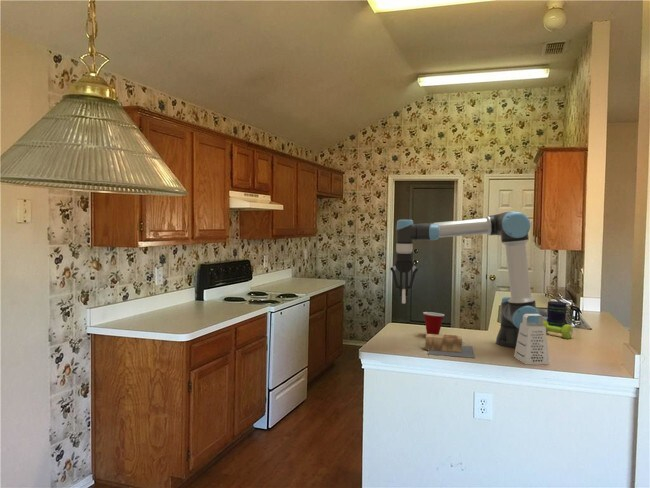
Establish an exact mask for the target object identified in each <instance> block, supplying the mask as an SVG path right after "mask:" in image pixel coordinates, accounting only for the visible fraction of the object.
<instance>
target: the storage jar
mask: <svg viewBox="0 0 650 488" xmlns="http://www.w3.org/2000/svg"><path fill="white" fill-rule="evenodd" d="M567 305H568V304H567V302H564V301H555V300H554V301H553V300H551V301H547V306H546V307H547V310H546V311H547V318H546V321H547V322H548V325H549V326H555V327H560V328H562V327H563V326H564V325H566V324H567V320H566V315H567Z"/></svg>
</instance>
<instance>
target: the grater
mask: <svg viewBox="0 0 650 488" xmlns="http://www.w3.org/2000/svg"><path fill="white" fill-rule="evenodd" d="M539 314H540V313H539ZM539 314H524V315H523V323H520V328H519V333H518V338H517V344H516V348H514V349H515V350H514V355H513V358H514V357H515V358H514V359H517V360H518V361H519V360H520V362H521V363H523V364H524V363H525V364H524V365H550V359H549V358H550V357H549V356H550V355H549V348H548V347H549V346H548V337H547V333H546V326H543V320H544V317H543V315H542V314H540V315H539ZM528 316H539V324H538V323H527V317H528Z"/></svg>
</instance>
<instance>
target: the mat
mask: <svg viewBox="0 0 650 488" xmlns="http://www.w3.org/2000/svg"><path fill="white" fill-rule="evenodd" d="M474 352H475V351H474V348H473V346H472V345H470V346H469V345H462V351H461V352H450V351H437V350H428V352H427V353H428V356H429V355H431V356H432V355H433V356H441V355H443V357H454V358H455V357H457V358H466V359H468V358H469V359H476V356H475V353H474Z"/></svg>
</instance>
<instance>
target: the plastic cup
mask: <svg viewBox="0 0 650 488" xmlns="http://www.w3.org/2000/svg"><path fill="white" fill-rule="evenodd" d="M422 314H423V317H424V323H425V330H426V334H437V335H440V331H441V327H442V324H443V320H444V317H445V314H444V313H439V312H432V311H425V312H424V311H423V312H422Z"/></svg>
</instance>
